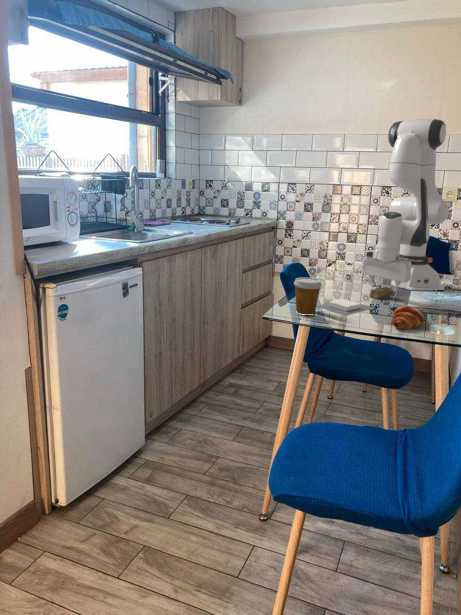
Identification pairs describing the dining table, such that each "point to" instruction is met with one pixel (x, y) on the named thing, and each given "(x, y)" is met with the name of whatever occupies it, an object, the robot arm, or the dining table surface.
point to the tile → (344, 304)
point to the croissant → (407, 317)
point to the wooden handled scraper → (381, 293)
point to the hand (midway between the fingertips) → (383, 289)
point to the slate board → (342, 312)
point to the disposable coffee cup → (306, 294)
